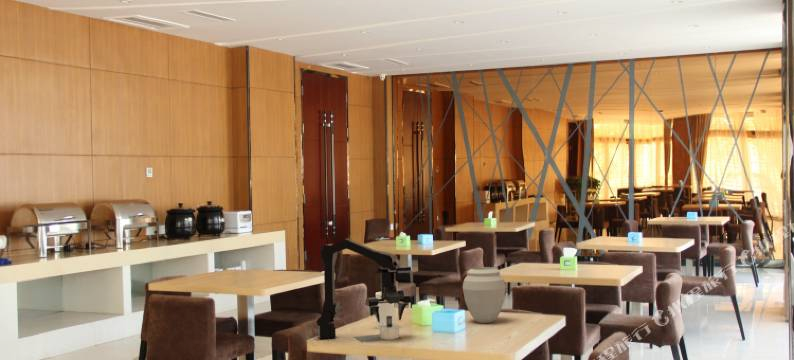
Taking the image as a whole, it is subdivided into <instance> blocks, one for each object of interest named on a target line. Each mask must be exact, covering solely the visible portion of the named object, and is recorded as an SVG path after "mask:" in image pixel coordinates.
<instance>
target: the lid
mask: <svg viewBox="0 0 794 360" xmlns="http://www.w3.org/2000/svg"><path fill="white" fill-rule="evenodd" d="M378 327H379V328H382V329H384V330H385V329H395V328H399V329H401V328H402V326H401V325H399V324H397V323H395V324H392V316H386V325H378Z"/></svg>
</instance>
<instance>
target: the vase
mask: <svg viewBox="0 0 794 360" xmlns="http://www.w3.org/2000/svg"><path fill="white" fill-rule="evenodd" d="M500 271H501V270H499V269H497V268H496V267H494V266H493V267H491V266H481V267H480V266H478V267H477V266H476V267H471V269H469V270H468V271H467V272H466V273H467V276H465V278H464V280H463V283H462V291H463V296H464V297H463V298H464V302H465V305H466V306H467V307H466V308H467V309H468V312H469V313H470V316H471V317H472V319H474V321H475V322H476V323H479V324H490V323H492V324H493V322H495V321H496V320H497V319H498V317H499V315H500V313H501V312H502V309H503V305H504V301H505V297H506V289H507V287H506V283H505V279H504V277H503V276H502V275H501V273H500Z"/></svg>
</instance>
